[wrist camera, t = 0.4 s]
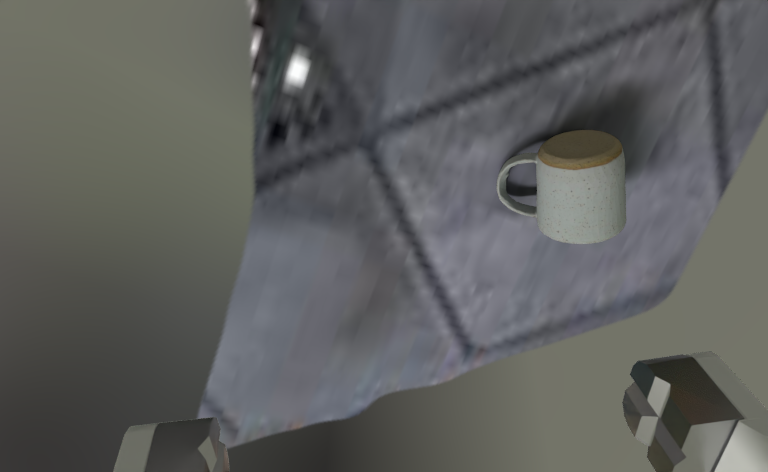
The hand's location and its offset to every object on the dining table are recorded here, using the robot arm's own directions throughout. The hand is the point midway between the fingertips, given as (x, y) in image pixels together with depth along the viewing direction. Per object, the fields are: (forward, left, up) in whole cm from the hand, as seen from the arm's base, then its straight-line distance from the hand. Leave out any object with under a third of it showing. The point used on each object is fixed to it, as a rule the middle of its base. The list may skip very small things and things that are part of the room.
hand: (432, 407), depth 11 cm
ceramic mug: (+15, +18, -39) cm, 46 cm away
